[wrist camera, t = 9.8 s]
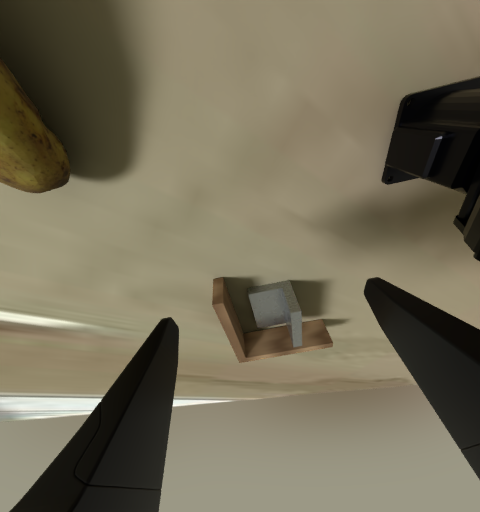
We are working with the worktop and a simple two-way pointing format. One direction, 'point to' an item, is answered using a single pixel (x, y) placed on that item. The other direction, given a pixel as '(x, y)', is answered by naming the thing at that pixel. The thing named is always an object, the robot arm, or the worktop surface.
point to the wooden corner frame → (264, 332)
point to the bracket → (277, 308)
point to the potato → (27, 142)
